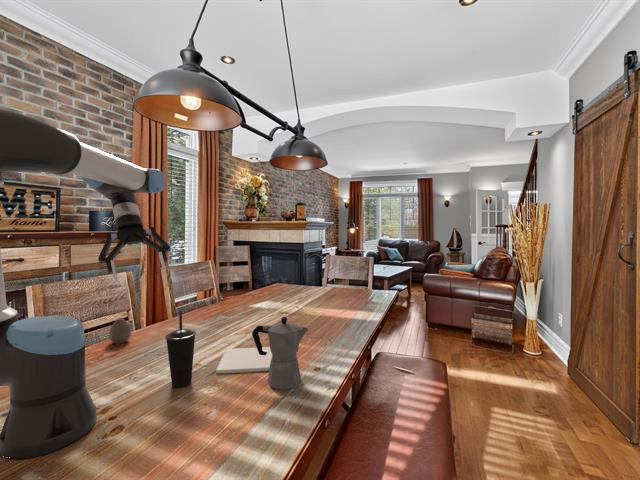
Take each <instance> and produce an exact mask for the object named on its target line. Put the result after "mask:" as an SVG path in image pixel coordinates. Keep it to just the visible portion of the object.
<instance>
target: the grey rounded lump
mask: <svg viewBox="0 0 640 480" xmlns="http://www.w3.org/2000/svg"><path fill="white" fill-rule="evenodd" d="M131 335H132V329H131V326H130V324H129V322H127V321H126V320H125V319H124V318H123V317H121V318H116V319H115V321H114V323H112V325H111V326H110V328H109V331H108V337H109V340H110V342H111V343H113V344H114V345H120V344H121V343H122V344H124V342H125V343H127V341H129V339H130V338H131Z"/></svg>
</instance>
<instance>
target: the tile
mask: <svg viewBox="0 0 640 480" xmlns="http://www.w3.org/2000/svg"><path fill="white" fill-rule="evenodd" d="M262 350H263V351H264V352H267V354H266V355H259V353H258V350H257V347H242V348H241V347H239V348H226V349H225V351H224V353H223V355H222V357H221V359H220V361H219V363H218V366H217V367H216V370H215V374H232V373H250V372H251V373H253V372H254V373H255V372H267V371H268V372H269V369H270V363H271V359H272V353H271V350H270V346H262Z"/></svg>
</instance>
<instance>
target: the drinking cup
mask: <svg viewBox="0 0 640 480" xmlns="http://www.w3.org/2000/svg"><path fill="white" fill-rule="evenodd" d="M178 316H179V318H178V321H179V323H178V325H179V328H178V329H174V330H172V331H171V332H169V333H167V334H166V335H165V336H164V339H165V341H166V348H167V355H168V364H169V370H170V381H171V387H172V388H175V389H181V388H186V387H188V386H190V385H191V383H192V379H193V366H194V352H195V341H196V340H195V339H196V335H197V331H196V330H193V329H189V328H183V311H182V310H179V311H178Z"/></svg>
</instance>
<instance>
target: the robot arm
mask: <svg viewBox="0 0 640 480" xmlns="http://www.w3.org/2000/svg"><path fill="white" fill-rule="evenodd" d="M19 172H23V173H24V172H25V173H27V172H28V173H30V172H32V173H33V172H34V173H35V172H36V173H46V174H47V173H48V174H52V175H56V176H64V175H69V174H71V175H74V176H79V177H81V179H82V181H83V183H85V185H86V184H87V185H88V187H89V188H91V189H93V190H94V191H96V192H98V193H99V194H101V195H102V196H104V197H105V198H106V199H108V200H109V201H110V203H111V208H112V212H113V213H112V214H113V217H114V222H115V226H116V230H117V232H116V233H111V232H110V231H109V232H106V239H105V242H104V244H103V246H102V249H101V251H100V253H99V256H98V262H99V264H106V267H107V272H108V273H112V275H113V278H114V279H113V280H114V283H115V284H116V283H118V282H119V281H118V276H117V270H116V266H115V262H114V259H115V258H116V257H117V255H118V254H119V253H120V252H121V251H122V250H123V248H124V247H125V246H126V245H128V246H131V245H134V244H135V245H136V244H137V245H138V244H140V243H142V244H144V245H146V246H148V247H149V248H151V249H152V250H154V251H156V252H157V253H158V258H159V262H160V265H161V268H162V269H161V270H162V272H163V274H164V273H166V272H167V268H166V263H167V261H168V257H167V253H168V252H170V250H171V246H170V245H169V243H168V242H167V241H165V240H164V239H163V237H161V236H160V235H159V234H158V232H156V229H155V227H154V226H151V227H149V228H147V229H145V228H144V226H143V221H142V218H141V213H140V208H139V205H138V202H137V198H136V194H137V193H138V194H139V193H140V194H146V193H147V194H149V193H150V194H155V193H161V192H163V191H164V189H165V186H166V180H165V179H166V178H165V176H164V173H163V172H162V170H160V169H157V168H143V167H141V166H139V165H136V164H134V163H131V162H128V161H127V160H124V159H121V158H119V157H116V156H114V155H113V154H109V153H107V152H105V151H102V150H100V149H98V148H95V147H92V146H90V145H89V144H86V143H83V142H81V141H80V140H79V139H78V138H77V137H76V136H75V135H74V134H73V133H71V132H69V131H67V130H64V129H61V128H59V127H57V126H54V125H52V124H50V123H47V122H45V121H42V120H40V119H37V118H33V117H31V116H28V115H24V114H22V113H19V112H14V111H11V110H7V109H1V108H0V187H2V186H3V185H4V184H5V183H4V182H5V180H4V173H19ZM146 234H148V235H149V236H151V237H152V238H153V239H154V240H155V241H156V242H155V241H153V240H151V239H150V238H149V237H147V236H146ZM115 239H118V243H116V245H115V246H114V247H113V249H112V250H111V251H110V248H111V246H112V242H113V241H115ZM157 243H158V244H157ZM109 251H110V252H109ZM108 253H109V254H108ZM2 259H3V258H2V251H1V248H0V387H1V386H2V387H9V404H10V405H9V410H8V413H7V415H6V418H5V420H4V423H3V426H2V428H1V432H0V454H1V455H2V456H4V457H8V458H9V457H10V458H25V459H30V458H36V457H39V456H43V455H45V454H49V453H51V452H52V453H53V452H55V451H57V450H59V449H62V448H64V447H66V446H68V445H70V444H73V443H74V442H76V441H78V440H79V439H81V438H82V437H83V436H85V435H86V434H88V432H89V431H91V429H93V427H94V426H95V424H96V423H97V407H96V405H95V403H94V401H93V399H92V396H91V394H90V393H89V390H88V389H87V385H86V384H87V383H86V382H87V381H86V378H87V377H86V342H87V341H86V340H87V339H86V336H85V329H84V325H83V323H82V322H81V321H80V320H79V319H78V318H75V317H71V316H66V315H48V316H43V315H39V316H33V317H27V318H23V319H20V320H19V315H18V314H19V313H18V310H16V309H14V308H13V307H10V306H9V305H7V304H8V303H7V297H6V288H5V287H6V286H5V279H4V278H5V277H4V269H3V260H2ZM1 455H0V456H1ZM2 456H1V457H2ZM4 457H3V458H4Z"/></svg>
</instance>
